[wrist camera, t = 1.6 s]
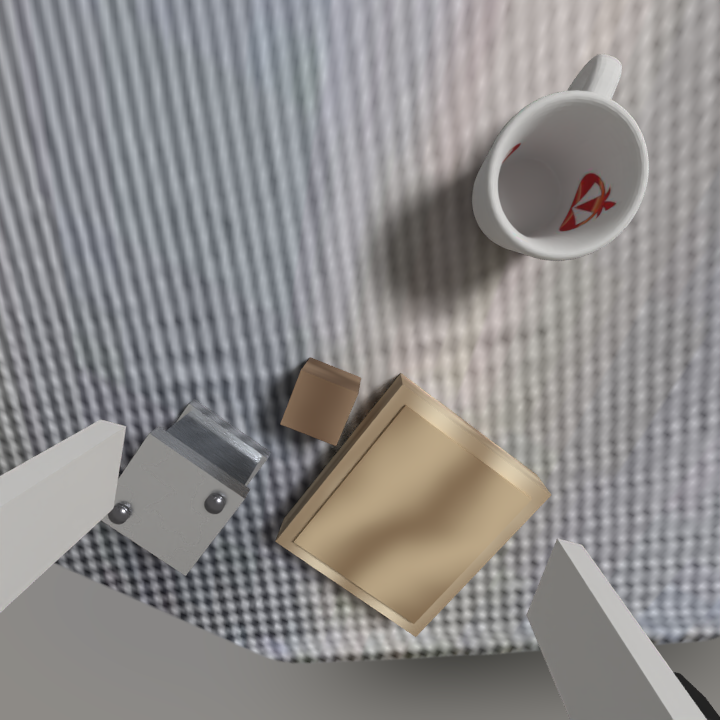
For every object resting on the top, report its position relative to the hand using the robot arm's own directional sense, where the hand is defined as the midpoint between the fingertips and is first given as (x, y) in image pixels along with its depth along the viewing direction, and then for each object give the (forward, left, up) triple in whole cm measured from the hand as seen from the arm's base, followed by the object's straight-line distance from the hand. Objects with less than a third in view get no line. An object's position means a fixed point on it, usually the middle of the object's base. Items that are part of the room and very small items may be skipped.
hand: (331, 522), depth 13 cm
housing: (-5, -13, -20) cm, 25 cm away
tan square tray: (+9, -6, -20) cm, 23 cm away
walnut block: (-1, -3, -20) cm, 20 cm away
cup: (+1, +17, -20) cm, 26 cm away
